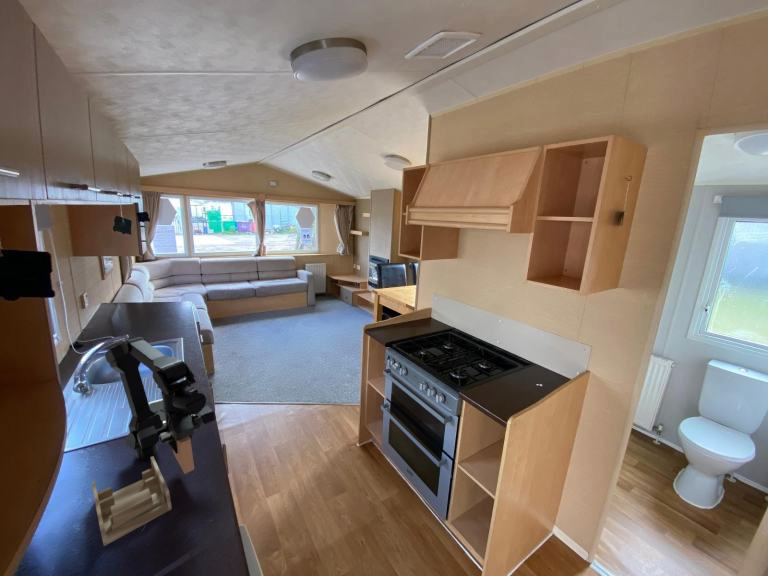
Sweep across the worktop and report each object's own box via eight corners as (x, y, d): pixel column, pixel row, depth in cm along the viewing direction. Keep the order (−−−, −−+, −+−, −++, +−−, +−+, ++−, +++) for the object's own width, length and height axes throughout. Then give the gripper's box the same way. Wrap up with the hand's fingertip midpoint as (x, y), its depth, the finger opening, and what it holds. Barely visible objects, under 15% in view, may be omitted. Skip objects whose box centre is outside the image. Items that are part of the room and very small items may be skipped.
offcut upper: (111, 514, 81) (110, 506, 81) (149, 495, 87) (148, 488, 86) (114, 525, 79) (112, 516, 78) (153, 504, 84) (151, 496, 84)
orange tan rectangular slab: (184, 474, 91) (180, 443, 89) (173, 453, 99) (169, 424, 97) (194, 469, 93) (190, 439, 90) (182, 448, 101) (178, 420, 99)
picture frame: (194, 418, 128) (188, 395, 144) (193, 411, 128) (187, 390, 144) (146, 433, 119) (145, 407, 135) (145, 426, 118) (144, 401, 134)
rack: (96, 504, 88) (91, 482, 87) (156, 475, 98) (153, 456, 97) (104, 549, 76) (99, 525, 75) (172, 511, 86) (168, 490, 85)
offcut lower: (111, 524, 81) (109, 516, 81) (157, 500, 88) (156, 492, 88) (113, 534, 79) (111, 526, 78) (161, 509, 86) (159, 501, 85)
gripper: (141, 431, 80) (150, 483, 83) (219, 401, 93) (224, 448, 96) (133, 412, 87) (141, 461, 90) (206, 387, 101) (211, 431, 104)
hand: (181, 450), depth 95 cm, fingers closed on orange tan rectangular slab, 2 cm apart
